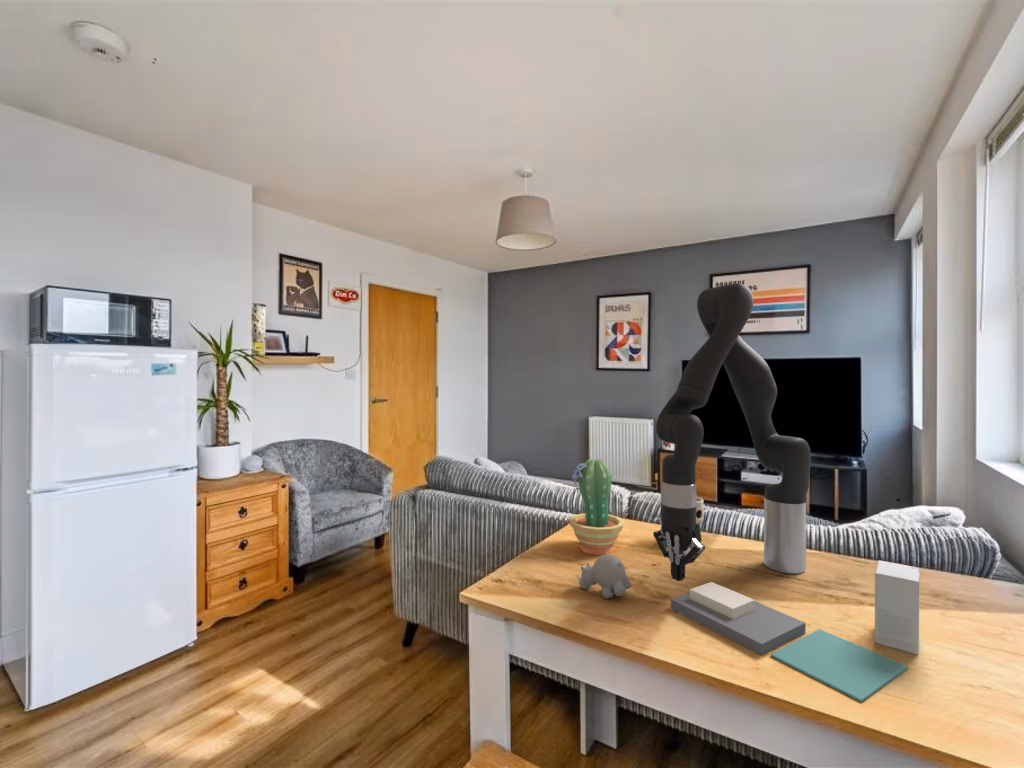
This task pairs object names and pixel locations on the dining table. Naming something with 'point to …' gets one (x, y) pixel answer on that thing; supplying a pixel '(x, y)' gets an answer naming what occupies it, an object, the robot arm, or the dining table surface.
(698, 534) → the character mug
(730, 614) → the cream tile
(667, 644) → the dining table surface
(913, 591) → the small box
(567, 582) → the dining table surface
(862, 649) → the teal mat
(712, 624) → the plate
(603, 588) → the chubby cartoon animal
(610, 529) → the potted cactus
